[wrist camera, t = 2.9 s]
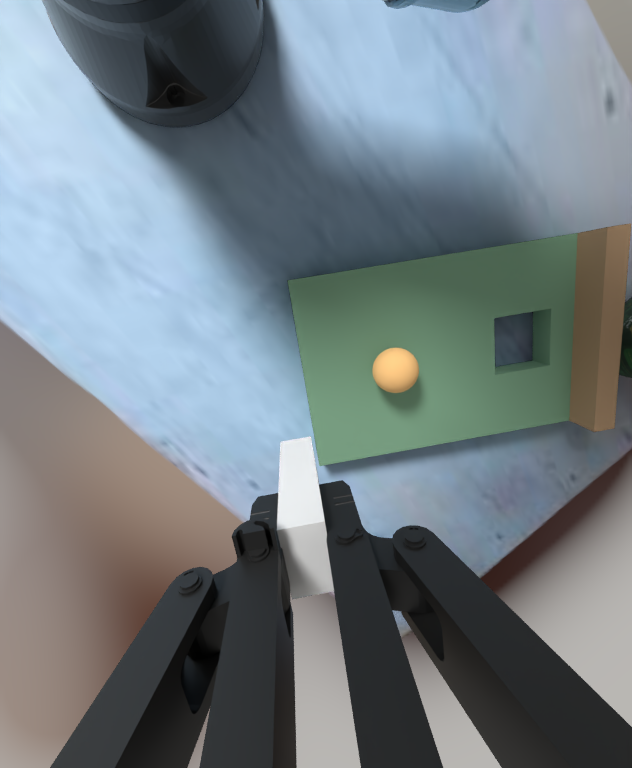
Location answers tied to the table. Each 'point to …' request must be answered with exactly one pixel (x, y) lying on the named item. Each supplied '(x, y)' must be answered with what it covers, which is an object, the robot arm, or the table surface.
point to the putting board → (464, 343)
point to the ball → (395, 370)
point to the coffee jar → (626, 342)
